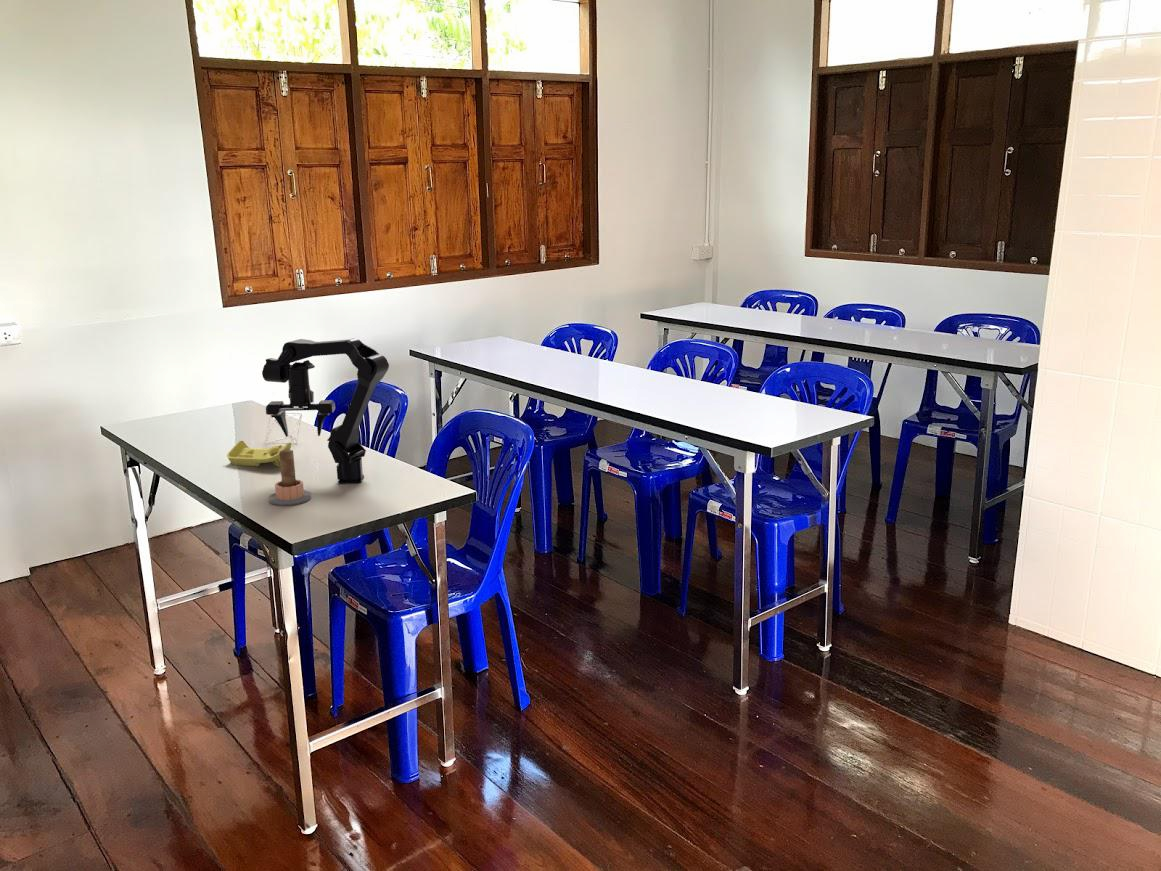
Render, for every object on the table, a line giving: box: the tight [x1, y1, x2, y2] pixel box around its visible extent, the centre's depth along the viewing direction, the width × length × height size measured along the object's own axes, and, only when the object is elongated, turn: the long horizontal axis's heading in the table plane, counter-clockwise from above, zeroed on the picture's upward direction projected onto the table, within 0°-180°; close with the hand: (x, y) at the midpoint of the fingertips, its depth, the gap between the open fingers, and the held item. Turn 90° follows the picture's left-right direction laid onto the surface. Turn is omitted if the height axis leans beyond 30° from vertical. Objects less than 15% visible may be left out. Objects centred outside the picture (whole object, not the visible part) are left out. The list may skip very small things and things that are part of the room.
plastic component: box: [226, 440, 292, 467], centre depth 297 cm, size 20×7×10 cm
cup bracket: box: [268, 479, 312, 507], centre depth 263 cm, size 11×11×4 cm
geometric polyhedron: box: [264, 412, 303, 445], centre depth 322 cm, size 12×11×9 cm
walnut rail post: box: [279, 449, 297, 487], centre depth 262 cm, size 4×4×12 cm
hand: (303, 436), depth 282 cm, fingers open, 9 cm apart
